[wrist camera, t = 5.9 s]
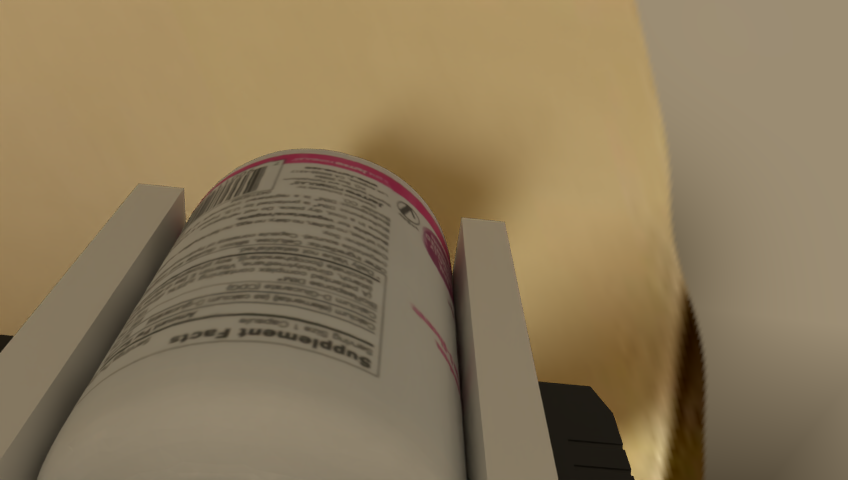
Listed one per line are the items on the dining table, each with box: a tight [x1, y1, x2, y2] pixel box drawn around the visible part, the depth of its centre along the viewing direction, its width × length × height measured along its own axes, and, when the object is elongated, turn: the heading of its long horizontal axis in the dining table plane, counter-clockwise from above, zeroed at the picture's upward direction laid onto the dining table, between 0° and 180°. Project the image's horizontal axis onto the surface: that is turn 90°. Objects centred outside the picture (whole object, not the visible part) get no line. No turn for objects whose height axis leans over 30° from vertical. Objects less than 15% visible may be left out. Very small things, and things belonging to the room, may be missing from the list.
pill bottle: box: [37, 149, 467, 480], centre depth 9 cm, size 5×5×8 cm
